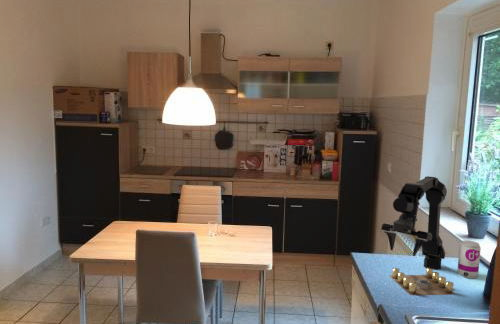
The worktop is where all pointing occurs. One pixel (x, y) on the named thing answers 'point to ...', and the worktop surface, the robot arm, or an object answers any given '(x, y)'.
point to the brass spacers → (429, 275)
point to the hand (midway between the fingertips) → (402, 253)
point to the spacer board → (433, 291)
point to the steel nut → (423, 284)
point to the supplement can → (469, 259)
